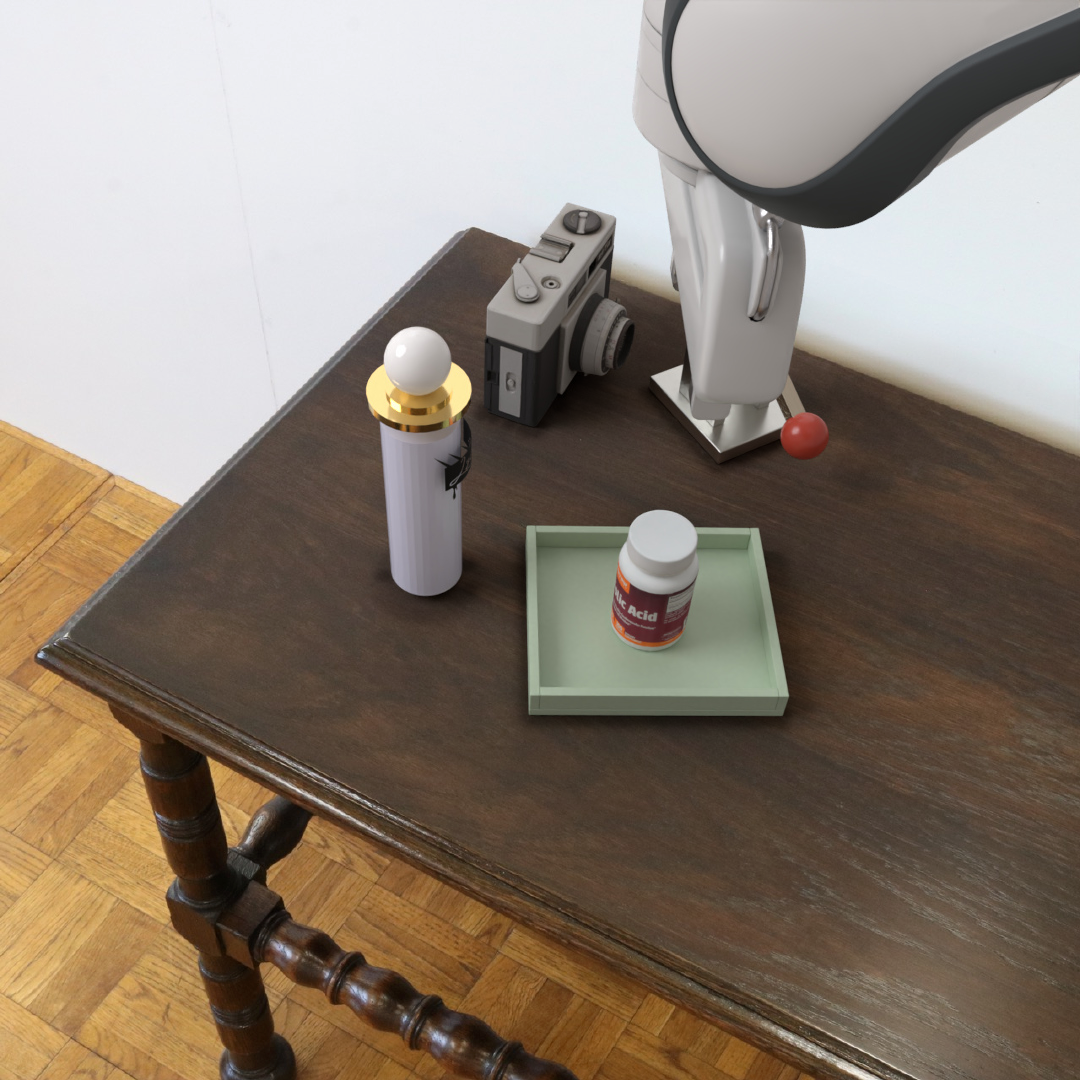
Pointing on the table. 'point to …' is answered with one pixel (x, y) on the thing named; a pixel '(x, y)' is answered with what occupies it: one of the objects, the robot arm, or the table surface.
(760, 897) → the table surface
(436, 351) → the perfume bottle
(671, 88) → the robot arm
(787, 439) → the lever
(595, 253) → the camera
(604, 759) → the table surface
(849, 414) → the table surface
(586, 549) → the tray
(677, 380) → the bracket
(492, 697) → the table surface
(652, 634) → the pill bottle
